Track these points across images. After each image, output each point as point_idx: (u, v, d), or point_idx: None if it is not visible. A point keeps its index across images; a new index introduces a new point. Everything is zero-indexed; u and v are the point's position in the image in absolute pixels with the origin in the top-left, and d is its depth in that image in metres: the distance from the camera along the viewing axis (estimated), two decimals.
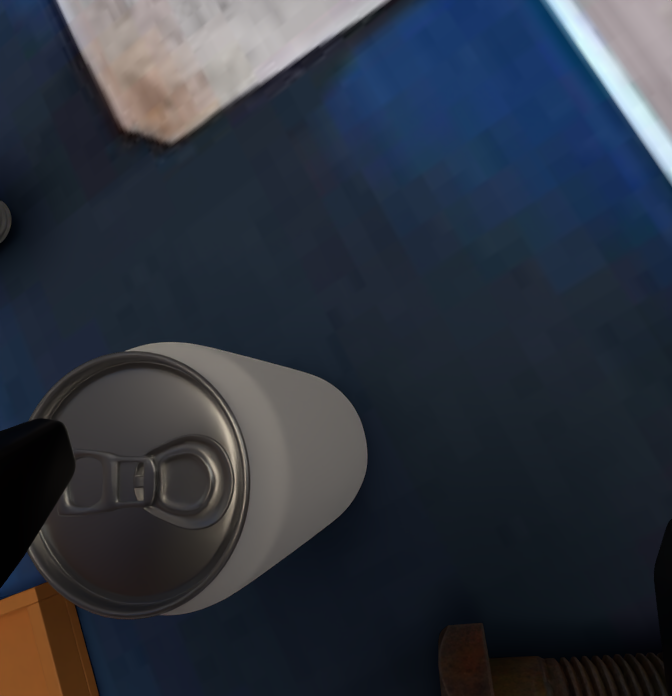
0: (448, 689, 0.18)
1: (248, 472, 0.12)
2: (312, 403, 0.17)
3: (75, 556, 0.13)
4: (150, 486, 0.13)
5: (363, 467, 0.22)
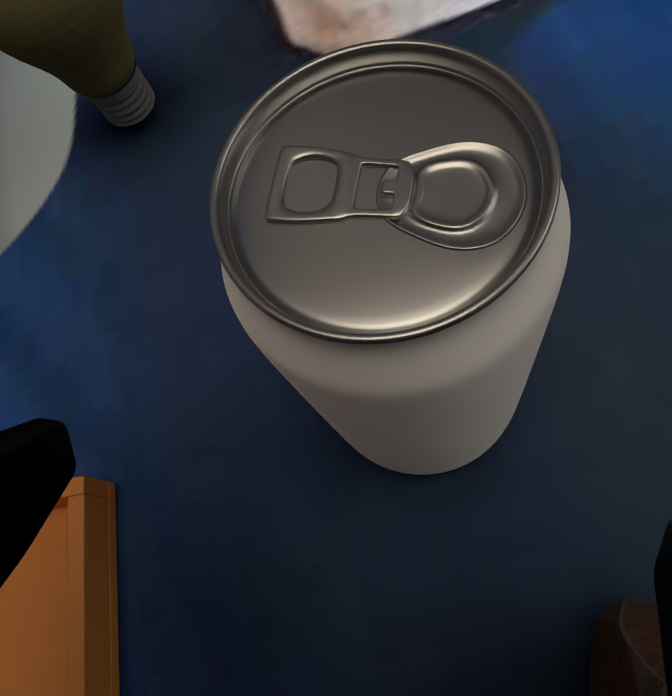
0: (647, 662, 0.13)
1: (556, 181, 0.09)
2: None
3: (277, 271, 0.10)
4: (400, 197, 0.10)
5: None
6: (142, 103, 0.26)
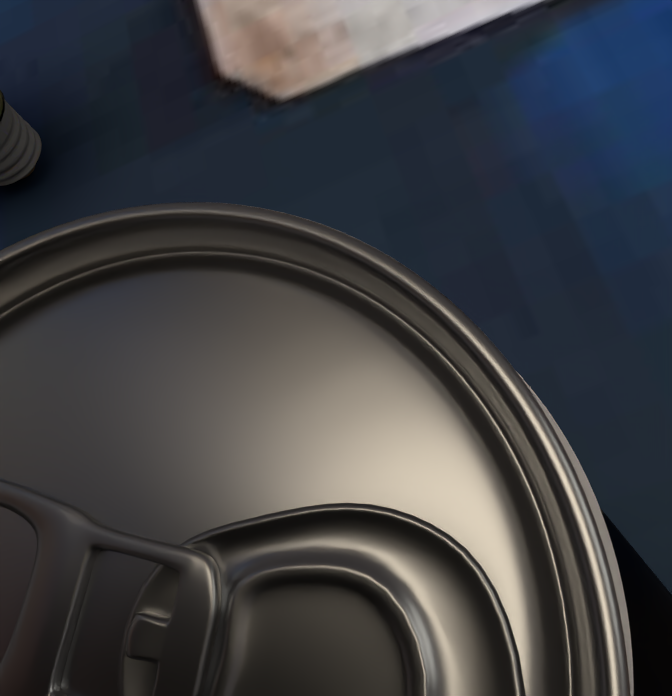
0: None
1: None
2: None
3: None
4: (179, 664, 0.04)
5: None
6: (21, 157, 0.19)
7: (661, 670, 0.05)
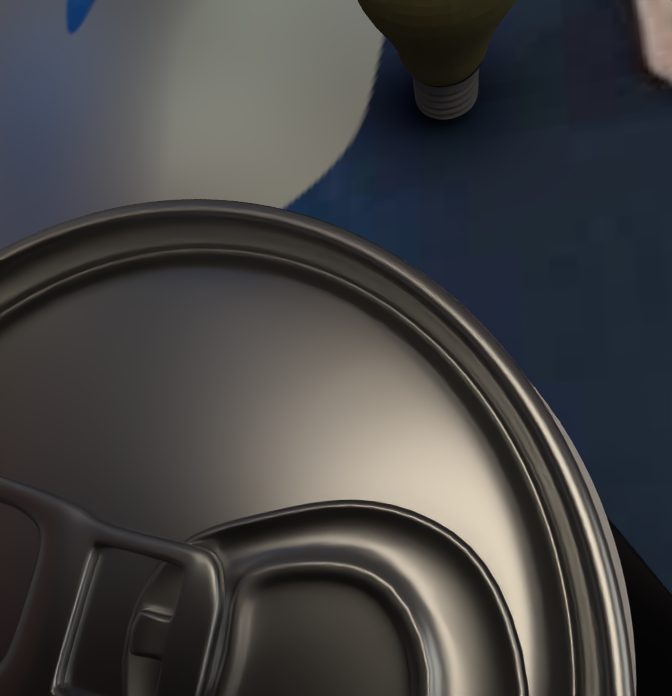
0: None
1: None
2: None
3: None
4: (184, 661, 0.04)
5: None
6: (467, 100, 0.22)
7: (661, 670, 0.05)
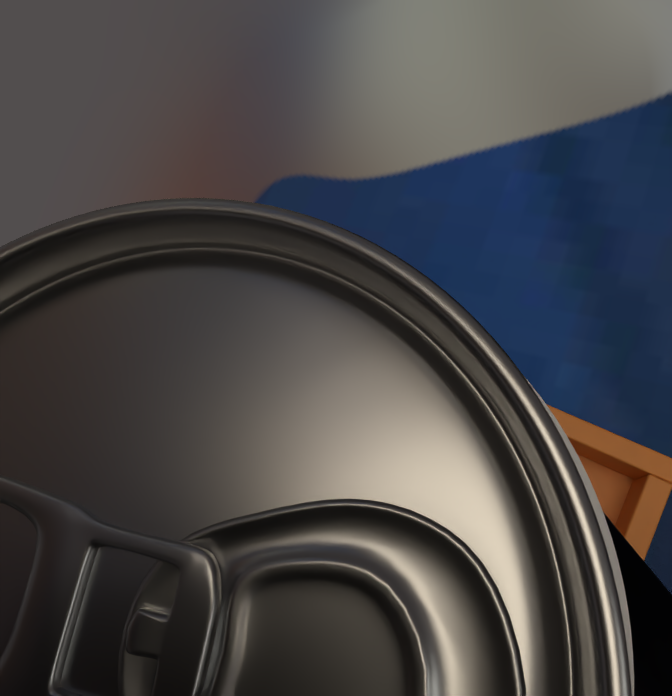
0: None
1: None
2: None
3: None
4: (179, 660, 0.04)
5: None
6: None
7: (662, 670, 0.05)
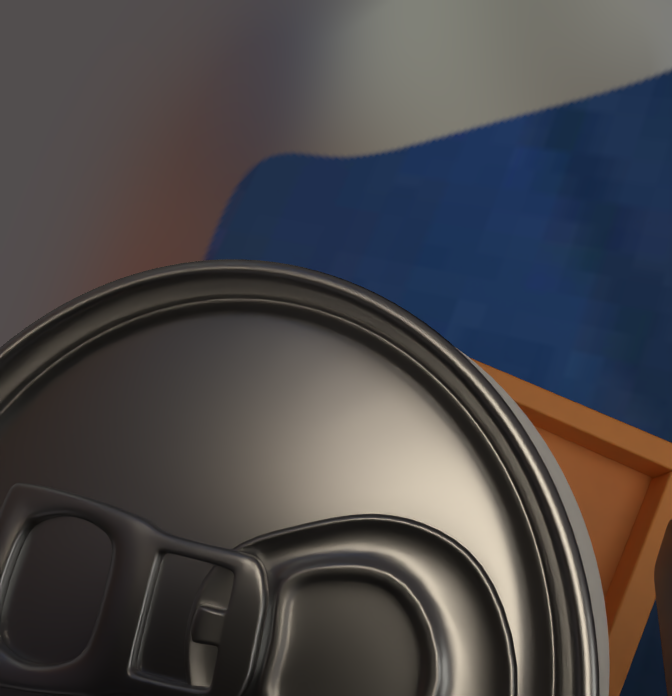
0: None
1: (586, 683, 0.04)
2: None
3: None
4: (236, 646, 0.04)
5: None
6: None
7: None
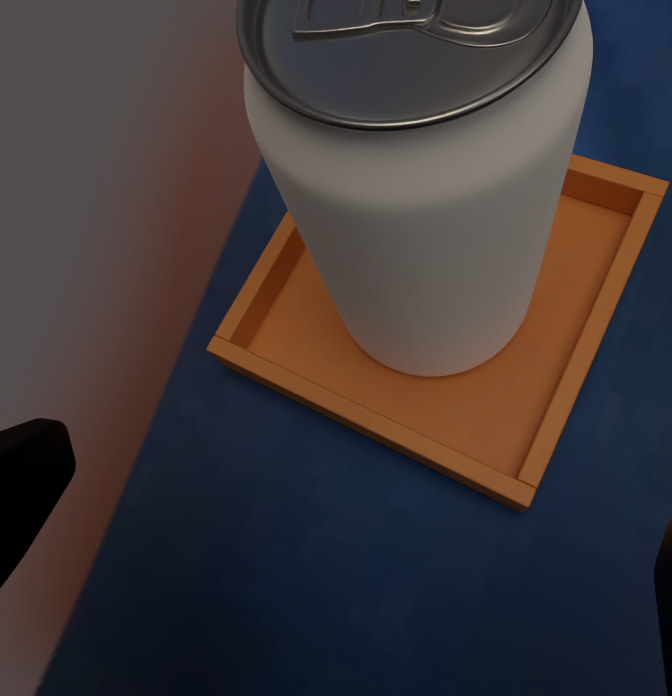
0: None
1: None
2: None
3: (304, 79, 0.10)
4: (425, 6, 0.10)
5: None
6: None
7: None
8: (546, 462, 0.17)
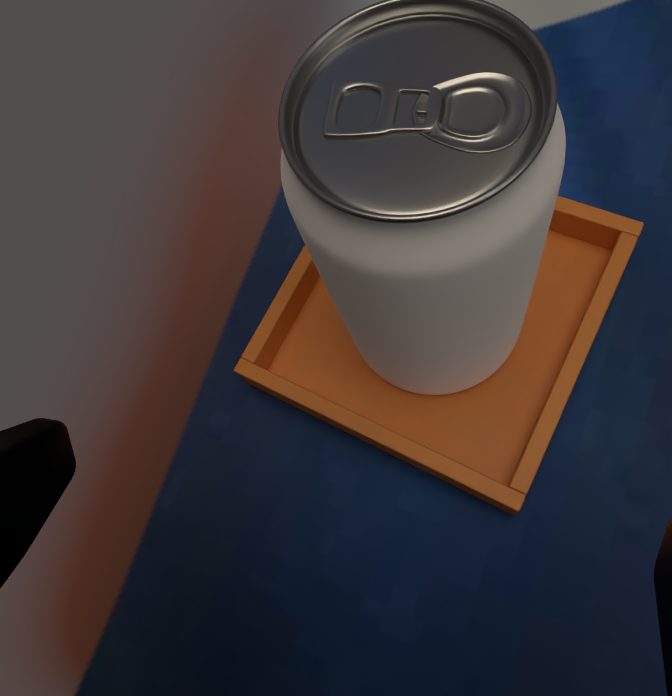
0: None
1: (554, 98, 0.12)
2: None
3: (334, 174, 0.12)
4: (431, 116, 0.12)
5: (521, 328, 0.21)
6: None
7: None
8: (534, 472, 0.19)
